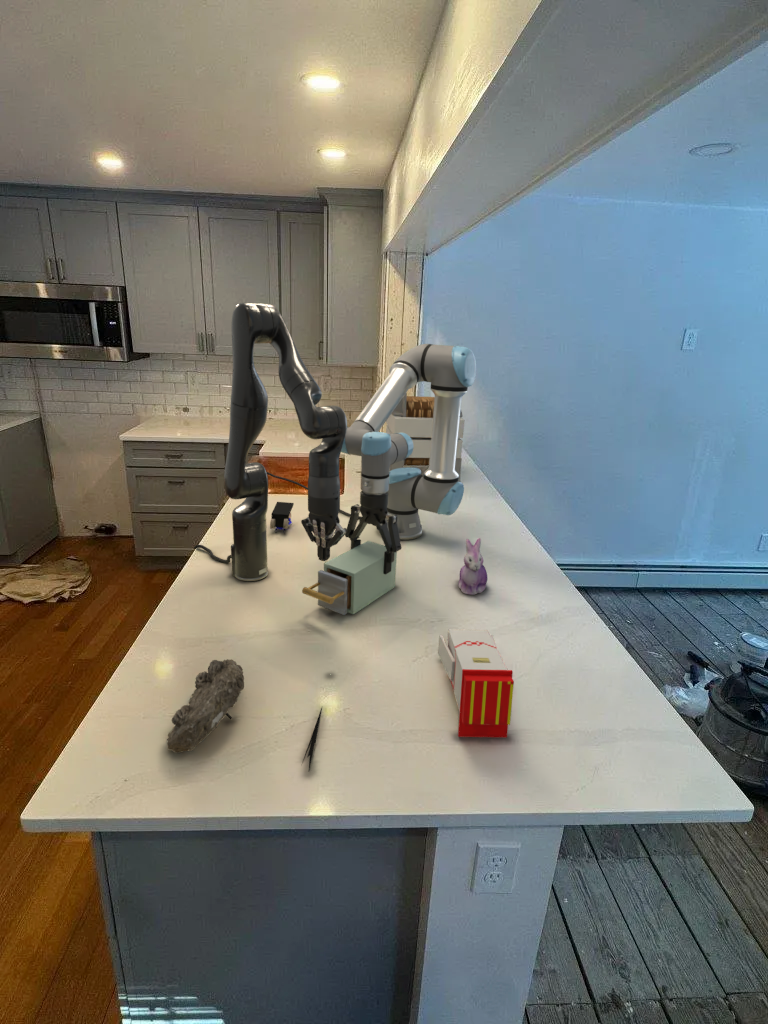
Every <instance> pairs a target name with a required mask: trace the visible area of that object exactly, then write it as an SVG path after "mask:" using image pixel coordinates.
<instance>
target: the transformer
mask: <svg viewBox="0 0 768 1024" xmlns="http://www.w3.org/2000/svg"><path fill="white" fill-rule="evenodd" d="M407 394H408V392H406V394H405V395H404V396H403V398H402V399H401V401H400V402H399V404H398V405H397V406H396V408H395V409H394V411H393V412H392V413H391V415H390V416H389V418H388V419H387V421H386V422H385V424H386V428H385V433H387V434H394V433H405V434H407V435H408V436H410V438H411V439H412V441H413V447H414V448H413V452H412V454H411V455H410V456H409V457H407V458H406V459H404V460H403V461H399V462H397V463H394V464H392V465H390V471H391V470H393V469H397V468H405V466H406V467H409V466H411V467H417V466H418V467H429V459H430V447H431V435H432V423H433V411H434V398H435V396H415V395H414V396H413V395H412V396H411V395H407ZM464 429H465V419H464V418H463V411H462V410H461V411H460V421H459V432H458V442H457V452H456V462H455V471H456V472H457V473H458V475H459V479H458V482H461V472H462V461H463V460H462V453H463V442H464V441H463V440H462V439H463V438H464V431H465V430H464ZM390 471H389V472H390Z"/></svg>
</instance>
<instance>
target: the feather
mask: <svg viewBox="0 0 768 1024" xmlns="http://www.w3.org/2000/svg"><path fill="white" fill-rule="evenodd" d="M329 675H330V676H331V675H332V674H331V673H330V674H329ZM322 710H323V707H321V708H320V710H319V713H318V716H317V719H316V723H315V725H314V728H313V731H312V733H311V737H310V739H309V742H308V745H307V748H306V751H305V754H304V757H303V760H302V763H301V767H302V765H303V763H304V761H305V758H308V759H309V760H308V762H307V763H308V764H307V766H308V771H310V770H311V766H312V765H311V764H312V760H313V757H315V756H314V755H315V751H316V749H315V746H317V739H318V733H319V729H320V722H321V717H322V712H323V711H322ZM313 754H314V755H313ZM306 755H307V757H306Z"/></svg>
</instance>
